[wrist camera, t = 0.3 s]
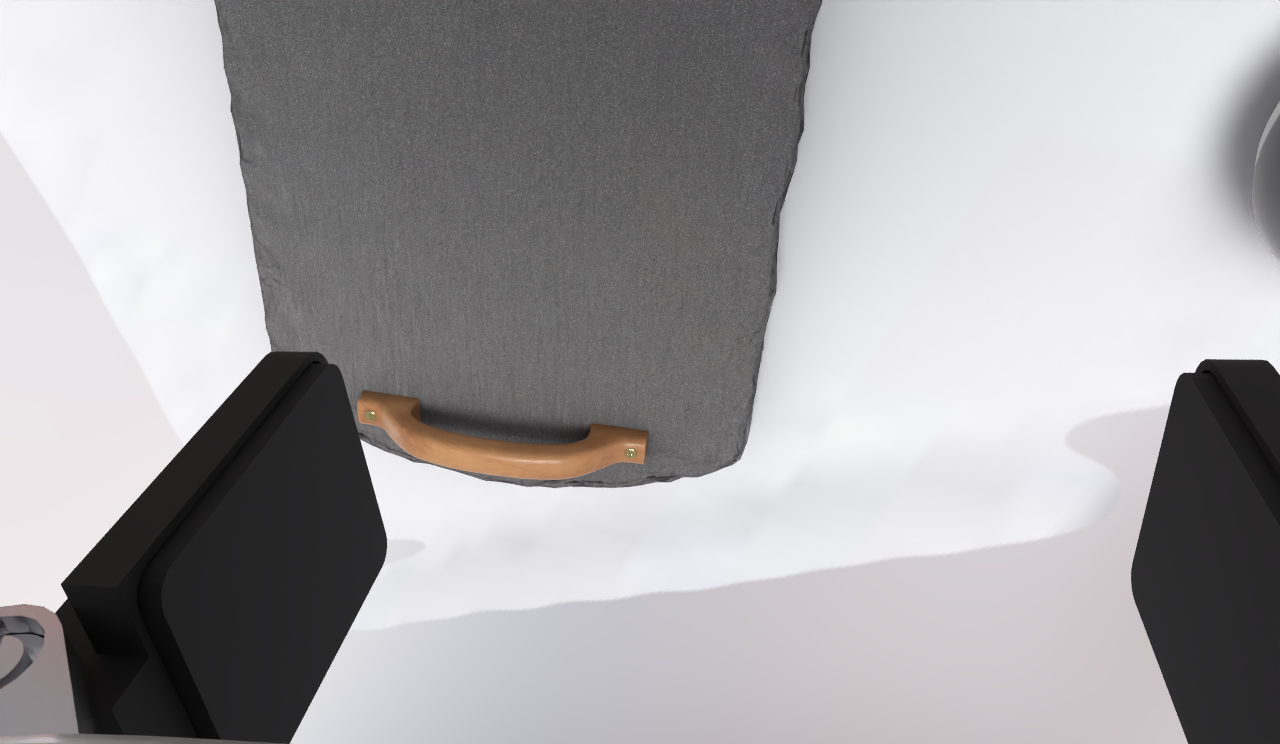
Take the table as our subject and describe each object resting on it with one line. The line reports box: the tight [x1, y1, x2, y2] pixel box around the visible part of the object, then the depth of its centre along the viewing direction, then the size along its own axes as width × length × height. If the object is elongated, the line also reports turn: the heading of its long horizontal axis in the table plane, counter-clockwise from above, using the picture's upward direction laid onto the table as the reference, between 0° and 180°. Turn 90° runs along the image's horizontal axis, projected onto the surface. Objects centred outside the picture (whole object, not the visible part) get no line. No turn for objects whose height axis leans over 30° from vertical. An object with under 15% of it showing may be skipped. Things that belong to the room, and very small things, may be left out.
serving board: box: [214, 0, 822, 488], centre depth 38 cm, size 39×23×6 cm, turn 176°
